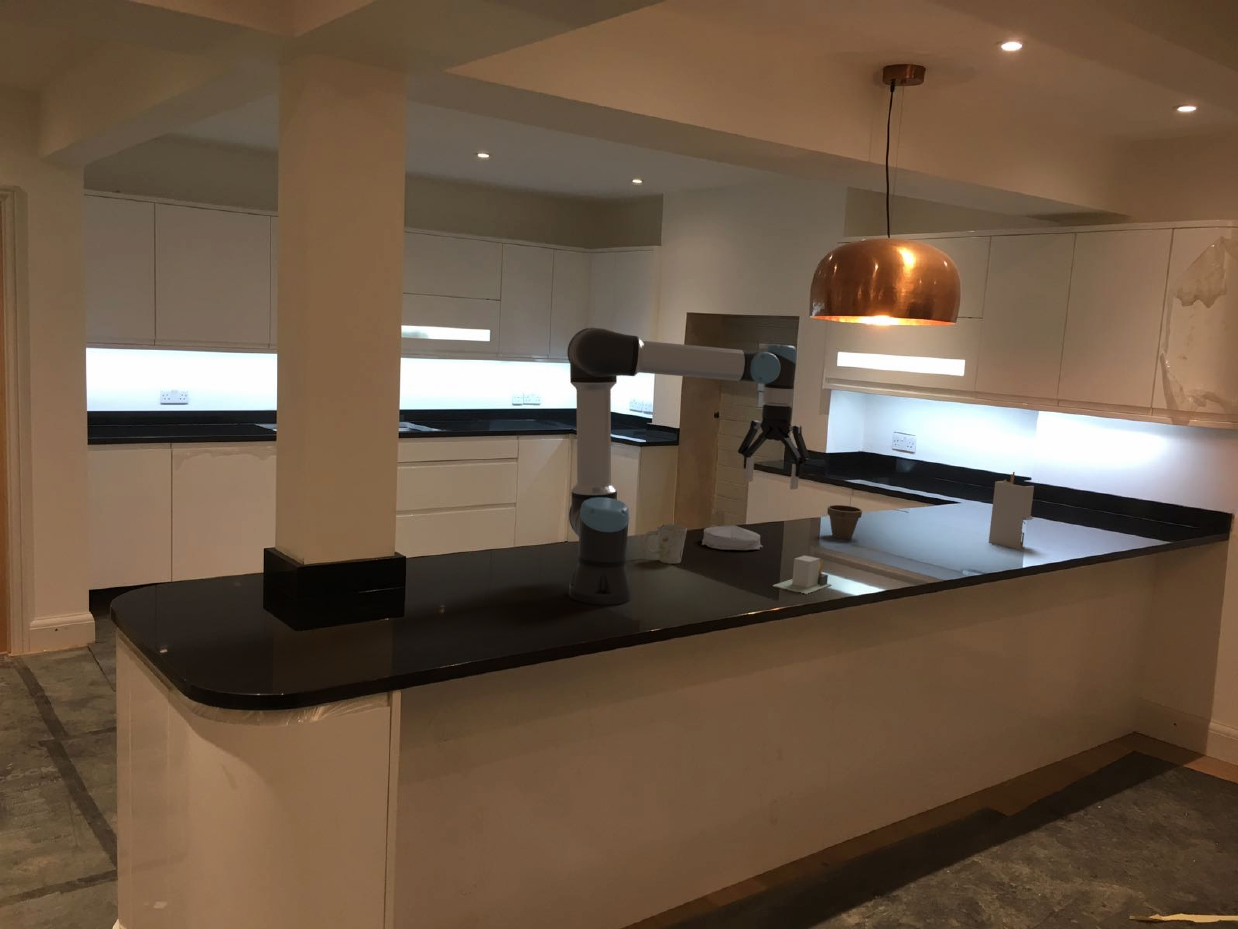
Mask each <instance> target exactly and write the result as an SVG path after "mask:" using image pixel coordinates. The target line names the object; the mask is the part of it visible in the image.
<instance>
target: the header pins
mask: <svg viewBox="0 0 1238 929" xmlns="http://www.w3.org/2000/svg"><path fill="white" fill-rule="evenodd" d="M822 569H823V561H822V560H820V564H819V575H818V584H819V583H820V576H821V574H822V572H823V571H822Z"/></svg>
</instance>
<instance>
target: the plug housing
mask: <svg viewBox="0 0 1238 929" xmlns="http://www.w3.org/2000/svg"><path fill="white" fill-rule="evenodd" d="M793 559H794V561H793V570H792V578H791V579H792V584H793V585H798V586H802V587H806V588H808V587H811V586H813V585H816V584H818V575H819V564H820V561H821V558H819V557H815V556H809V555H801V556H799V557H796V558H793Z"/></svg>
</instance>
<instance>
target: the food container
mask: <svg viewBox="0 0 1238 929" xmlns="http://www.w3.org/2000/svg"><path fill="white" fill-rule="evenodd" d="M701 542H702V543H701V545H702V546H705V545H706V546H707V547H709V548H712V549H718V550H726V551H727V550H728V551H730V550H735V551H737V550H738V551H748V550H751V551H752V550H758V551H759V550H761V548H763V545H762V544H761V535H760V534H758V533H757V532H754V531H752V530H749V529H746V528H743V527H740V526H737V525H734V524H732V525H721V526H710V527H706V528H704V529H703V539H701ZM760 547H761V548H760Z"/></svg>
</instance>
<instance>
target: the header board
mask: <svg viewBox="0 0 1238 929" xmlns="http://www.w3.org/2000/svg"><path fill="white" fill-rule="evenodd" d="M828 576H829V574H825V573H821V576H820V583H819V584H816V585H813V586H811V587H808V588H806V587H802V586H798V585H793V584H792V579H793V578H791V579H789V580H785V581H782V582H778V583H776V584H773V585H772V587H774V588H777V589H782V590H786V589H787V590H786V591H790V592H794V593H798V592H801V593H800V594H802V593H804V594H803V595H809V594H812V593H815V592H816V591H817V590H818V591H820V590H823V589H825V588H829V587H831V586H832V584H830V583H828V579H829V577H828ZM830 585H831V586H830ZM819 589H820V590H819ZM811 592H812V593H811ZM808 593H809V594H808Z"/></svg>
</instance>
